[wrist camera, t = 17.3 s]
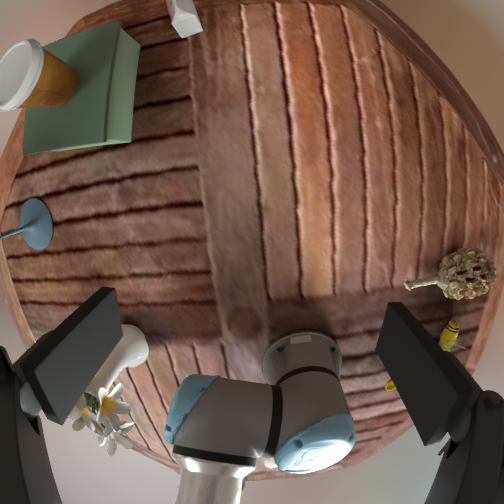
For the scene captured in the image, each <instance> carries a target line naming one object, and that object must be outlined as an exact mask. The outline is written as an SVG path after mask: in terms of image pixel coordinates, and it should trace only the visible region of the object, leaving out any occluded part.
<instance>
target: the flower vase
mask: <svg viewBox="0 0 504 504" xmlns="http://www.w3.org/2000/svg"><path fill="white" fill-rule="evenodd" d="M121 326H122V331H123V337H122V338H121V340H120V341H119V343H118V344H117V345H116V347H115V348H114V349H113V351H112V352H111V354H110V355H109V356H108V358H107V359H106V361H105V362H104V364H103V365H102V367H101V368H100V370H99V372H98V373H97V375H96V376H95V378H94V379H93V380H92V381H91V382H90V384H89V385H88V387H87V388H86V390H85V391H84V393H83V394H82V396H81V397H80V399H79V400H78V402H77V403H76V405H75V406H74V408H73V410H72V411H71V413H70V414H69V416H68V417H67V418H69V419H72V420H75V421H74V423H73V425H72V427H73V429H74V430H75V431H82V430H83V429H85V427H86V426H88V428H90V429H91V430H92V431H94V432H96V433H97V434H100V436H99V437H98V440H99V441H100V442H101V445H100V446H102V445H104V444H105V443H106V442H107V450H108V454H109V455H110V456H113V455H114V454H115V452H116V450H117V444H119V445H120V446H122V447H123V448H126V449H131V448H132V447H133V443H132V442H131V441H130V439H128V438H127V437H125V436H124V435H122V434H126V433H128V432H129V431H130V430H131V429H132V427H133V425H132V424H134V422H130V421H124V422H120V421H119V418H118V416H117V415H116V414H115V413H117V414H128V413H129V412H130V411H131V406H130V405H129V404H128V403H126V402H123V401H114V400H117V399H119V398H120V396H121V395H122V392H123V384H122V383H118V384H117V385H116V386H115V387H114V388H113V390H112V391H111V392H110V393H109V394H108V390H109V388H110V386H111V384H112V383H113V381H114V380H115V379H116V377H117V376H118V374H119V373H120V372H121V371H122V370H123V369H124V368H126V367H127V368H133V367H137V366H140V365H141V364H142V363H143V362H145V361H146V359H147V357H148V353H149V348H148V344H147V341H146V339H145V336H144V334H143V333H142V331H141V330H140V329H139V328H137V327H136V326H133V325H129V324H126V325H125V324H121ZM88 406H89V407H91V408H92V410H91V409H90V408H89V407H88ZM95 409H96V410H97V411H98V413H97V415H96V412H95ZM106 417H107V418H106ZM108 420H109V421H108ZM104 421H105V422H106V426H104V425H103V424H102V423H104ZM97 423H99V424H100V425H101V426H102V428H103V429H104V430H105V431H104V432H103V430H102V429H101V428H100V427H99V425H98V424H97ZM116 443H117V444H116Z"/></svg>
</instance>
